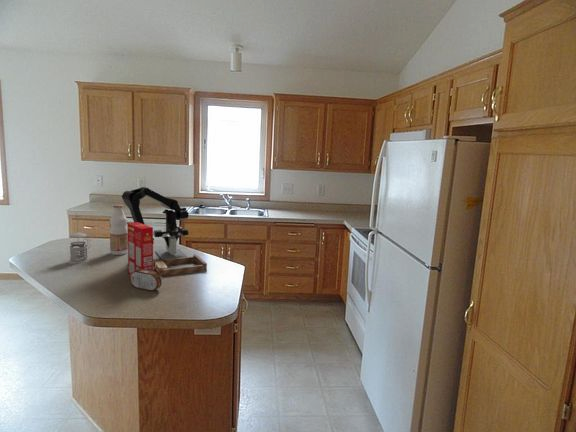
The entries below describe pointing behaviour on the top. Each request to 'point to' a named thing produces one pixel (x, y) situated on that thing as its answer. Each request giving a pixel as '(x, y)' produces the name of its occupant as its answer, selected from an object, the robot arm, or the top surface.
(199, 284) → the top surface
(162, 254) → the mat
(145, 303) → the top surface
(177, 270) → the brown rectangular shallow frame
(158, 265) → the offcut stack
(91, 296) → the top surface
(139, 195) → the robot arm
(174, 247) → the panel
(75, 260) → the french press
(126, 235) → the fruit juice
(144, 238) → the food packaging
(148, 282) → the tin
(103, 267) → the top surface
